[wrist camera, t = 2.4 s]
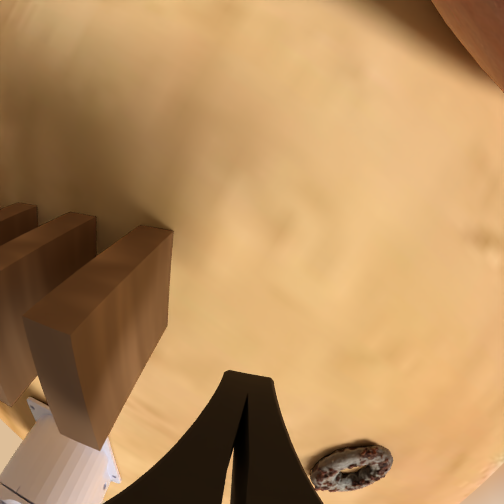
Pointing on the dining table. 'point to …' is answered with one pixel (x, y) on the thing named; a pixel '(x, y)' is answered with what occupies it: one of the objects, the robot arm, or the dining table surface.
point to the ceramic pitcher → (478, 31)
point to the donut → (333, 480)
